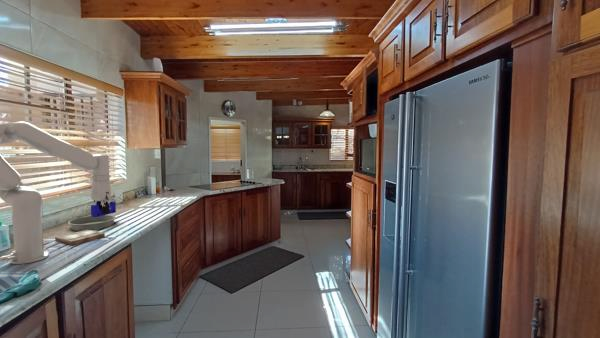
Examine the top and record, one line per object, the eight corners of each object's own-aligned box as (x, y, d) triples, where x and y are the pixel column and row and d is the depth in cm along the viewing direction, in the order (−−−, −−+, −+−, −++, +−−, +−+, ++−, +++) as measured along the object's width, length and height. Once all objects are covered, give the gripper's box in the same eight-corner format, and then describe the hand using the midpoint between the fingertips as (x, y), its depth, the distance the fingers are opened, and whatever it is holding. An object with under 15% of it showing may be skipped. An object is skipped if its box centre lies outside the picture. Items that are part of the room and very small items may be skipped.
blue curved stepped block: (108, 211, 163) (108, 201, 163) (115, 212, 162) (115, 201, 162) (88, 216, 151) (88, 204, 151) (96, 217, 150) (95, 205, 150)
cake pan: (76, 234, 170) (75, 226, 170) (62, 227, 185) (62, 220, 185) (123, 225, 190) (122, 218, 189) (107, 219, 205) (106, 212, 204)
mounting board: (71, 245, 151) (71, 241, 150) (55, 240, 158) (55, 236, 158) (104, 236, 165) (104, 232, 165) (88, 232, 172) (88, 229, 172)
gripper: (83, 178, 156) (85, 212, 157) (103, 180, 148) (104, 216, 149) (99, 177, 163) (100, 210, 164) (118, 178, 155) (119, 213, 156)
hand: (102, 212), depth 156 cm, fingers closed on blue curved stepped block, 5 cm apart
